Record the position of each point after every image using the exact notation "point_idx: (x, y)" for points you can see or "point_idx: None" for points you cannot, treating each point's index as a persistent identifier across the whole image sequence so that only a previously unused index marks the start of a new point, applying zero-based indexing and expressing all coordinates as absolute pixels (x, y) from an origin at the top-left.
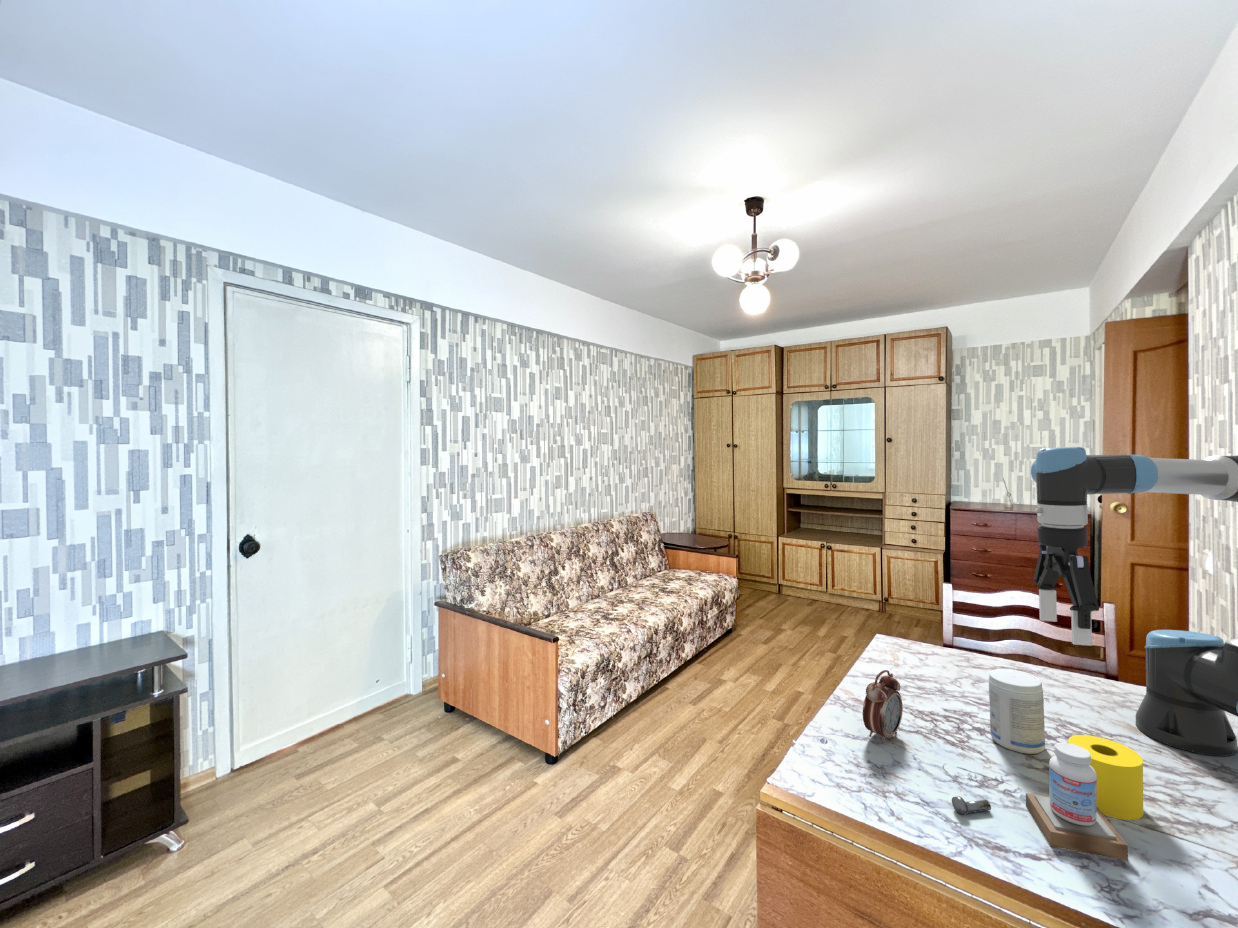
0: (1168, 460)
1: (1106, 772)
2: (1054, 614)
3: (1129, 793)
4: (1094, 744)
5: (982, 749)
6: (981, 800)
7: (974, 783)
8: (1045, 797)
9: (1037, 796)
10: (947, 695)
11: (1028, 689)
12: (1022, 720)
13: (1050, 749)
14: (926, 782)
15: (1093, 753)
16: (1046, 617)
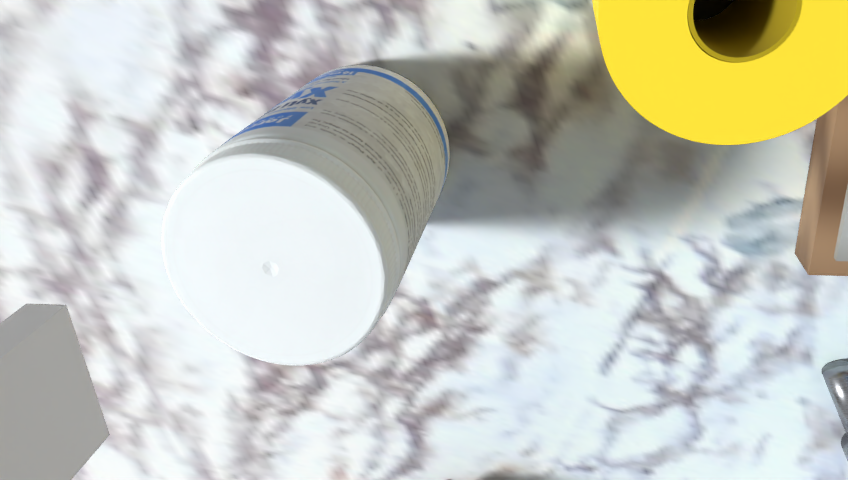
0: None
1: None
2: (8, 375)
3: None
4: (692, 31)
5: (460, 271)
6: (840, 390)
7: (691, 354)
8: (846, 232)
9: (841, 254)
10: (86, 272)
11: (387, 242)
12: (427, 204)
13: (373, 42)
14: (717, 471)
15: (788, 73)
16: (70, 421)
